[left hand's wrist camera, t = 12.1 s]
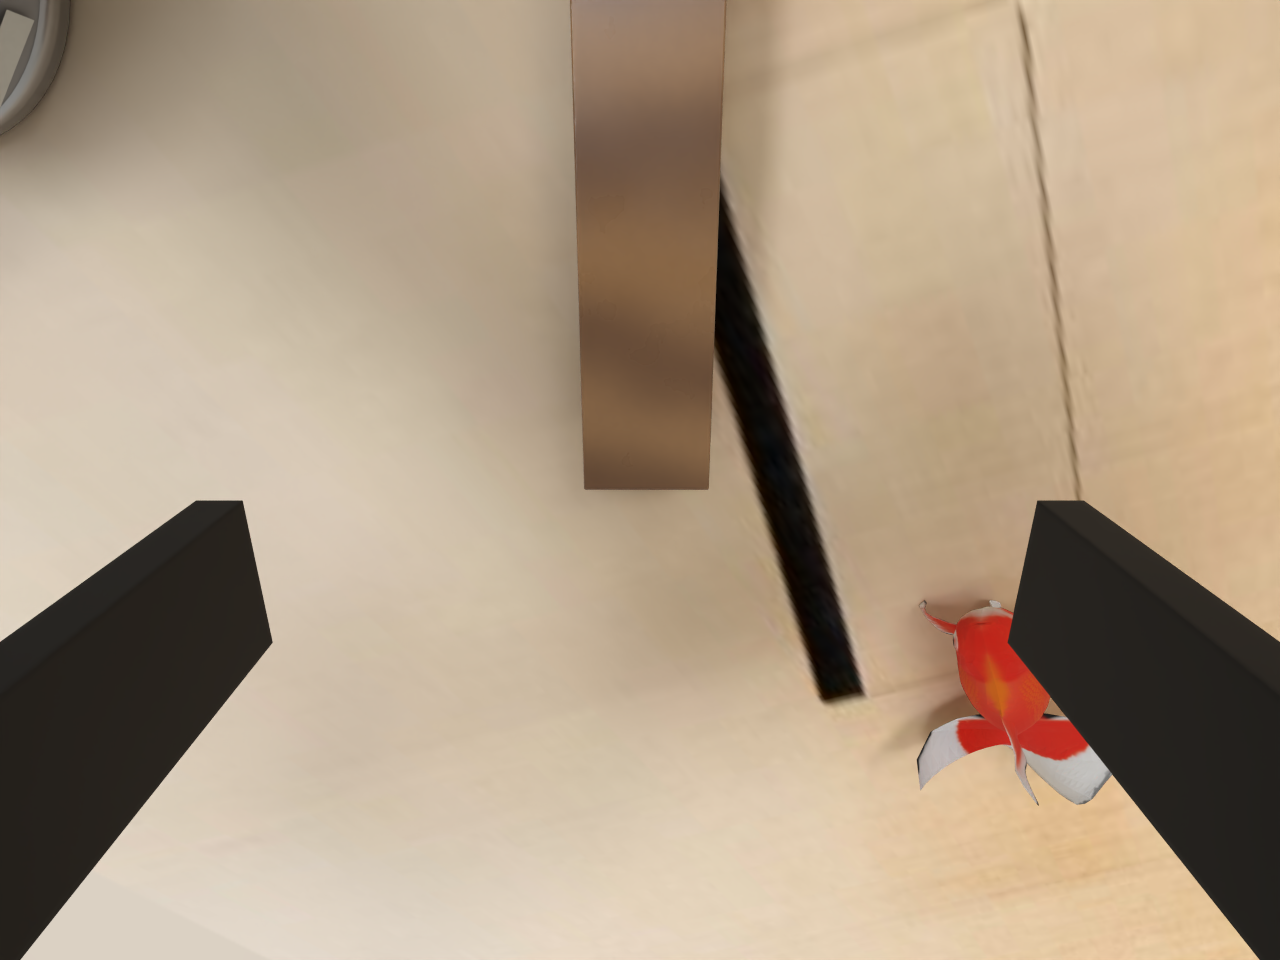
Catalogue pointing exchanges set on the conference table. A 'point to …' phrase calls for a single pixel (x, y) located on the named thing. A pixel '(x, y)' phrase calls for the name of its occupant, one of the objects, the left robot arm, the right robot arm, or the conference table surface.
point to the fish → (1008, 713)
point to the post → (647, 235)
